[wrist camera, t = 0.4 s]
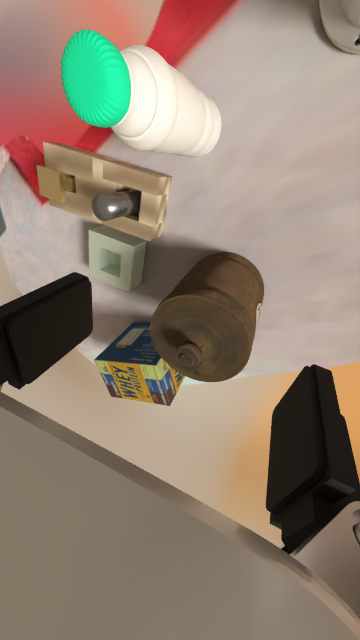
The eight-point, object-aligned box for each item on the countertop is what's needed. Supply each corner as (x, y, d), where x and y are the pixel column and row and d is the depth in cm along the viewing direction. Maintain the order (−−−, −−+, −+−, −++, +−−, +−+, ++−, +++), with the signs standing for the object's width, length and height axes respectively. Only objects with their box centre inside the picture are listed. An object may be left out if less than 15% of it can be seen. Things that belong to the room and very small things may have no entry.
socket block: (64, 143, 44) (42, 141, 40) (171, 176, 40) (158, 177, 36) (68, 201, 50) (49, 204, 46) (161, 235, 46) (149, 241, 42)
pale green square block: (104, 224, 50) (88, 229, 46) (146, 240, 48) (133, 246, 44) (103, 268, 55) (89, 275, 52) (141, 283, 54) (129, 292, 50)
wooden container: (224, 333, 52) (190, 414, 35) (175, 285, 51) (116, 346, 33) (282, 294, 43) (276, 377, 26) (225, 234, 42) (179, 280, 24)
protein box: (195, 357, 59) (170, 407, 47) (143, 354, 66) (109, 396, 53) (186, 321, 54) (156, 365, 42) (131, 321, 61) (91, 360, 49)
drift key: (62, 165, 42) (36, 164, 38) (82, 172, 41) (58, 172, 37) (64, 192, 45) (40, 194, 40) (83, 199, 44) (61, 202, 40)
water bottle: (170, 113, 36) (23, 44, 16) (214, 85, 32) (96, -45, 13) (185, 165, 38) (75, 161, 19) (227, 144, 35) (147, 113, 15)
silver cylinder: (132, 186, 42) (91, 191, 34) (149, 192, 42) (112, 198, 33) (130, 207, 45) (91, 217, 36) (146, 213, 44) (111, 224, 35)
